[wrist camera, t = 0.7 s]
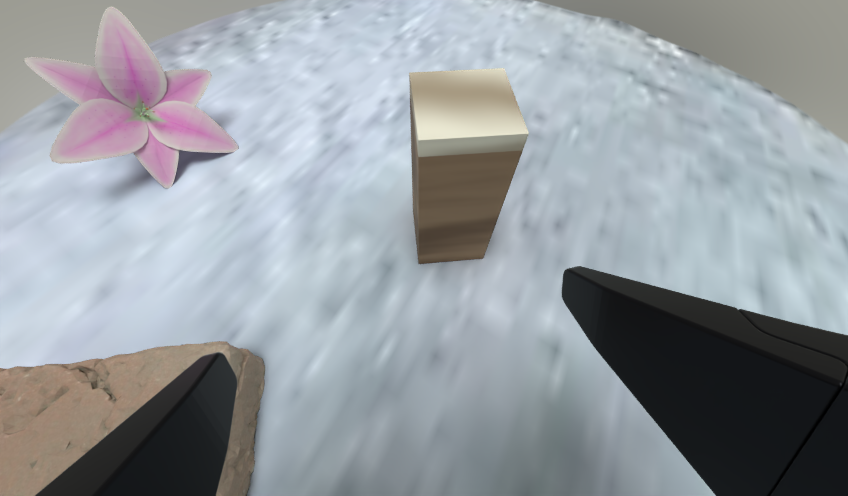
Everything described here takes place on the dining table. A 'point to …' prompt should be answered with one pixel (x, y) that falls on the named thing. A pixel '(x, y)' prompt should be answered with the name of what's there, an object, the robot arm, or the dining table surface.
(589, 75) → the dining table surface
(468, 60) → the dining table surface
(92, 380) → the brick
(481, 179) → the walnut block
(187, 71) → the lily
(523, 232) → the dining table surface
